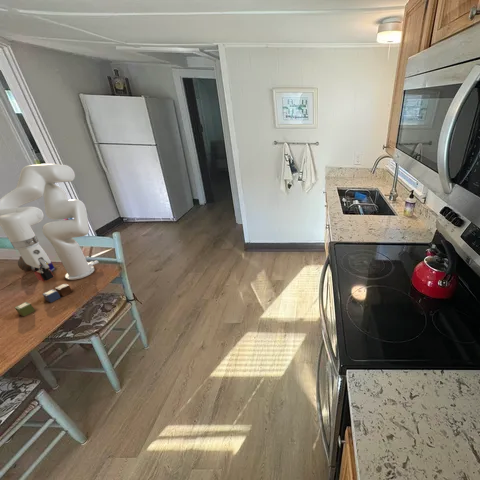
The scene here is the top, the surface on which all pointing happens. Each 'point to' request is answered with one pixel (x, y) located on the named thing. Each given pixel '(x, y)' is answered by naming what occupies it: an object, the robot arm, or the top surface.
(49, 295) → the slate-blue letter block
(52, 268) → the energy drink
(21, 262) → the brown kiwi fruit
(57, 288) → the walnut letter block
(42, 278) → the red letter block
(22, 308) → the olive letter block
